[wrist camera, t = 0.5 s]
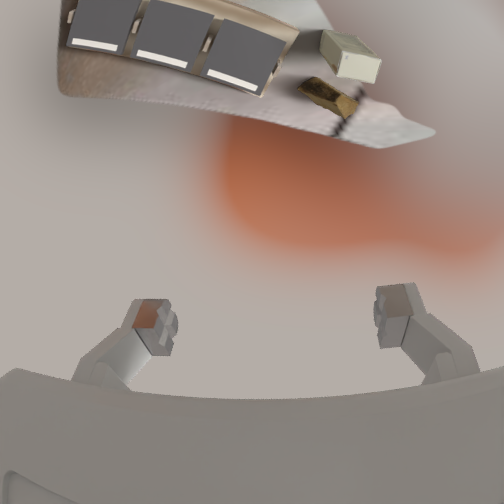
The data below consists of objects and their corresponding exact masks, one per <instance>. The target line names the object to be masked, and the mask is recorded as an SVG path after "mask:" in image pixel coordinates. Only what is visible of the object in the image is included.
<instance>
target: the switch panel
mask: <svg viewBox="0 0 504 504" xmlns="http://www.w3.org/2000/svg"><path fill="white" fill-rule="evenodd" d="M160 1H164V2H169V3H173V4H177V5H181V6H185V7H189V8H192V9H196V10H199V11H203V12H206V13H209V14H213V15H215V16H214V18H213V21H212V23H211V25H210V27H209V30H208V32H207V34H206V36H205V39H204V41H203V43H202V46H201V48H200V51H199V53H198V55H197V58H196V60H195V63H194V65H193V68H192V70H191V73H190V74H193V75H197V76H200V73H201V71H202V68H203V66H204V63H205V61H206V59H207V56H208V54H209V51H210V49H211V47H212V45H213V42H214V40H215V38H216V35H217V33H218V31H219V29H220V27H221V24H222V22H223V20H224V18H225V19H228V20H231V21H234V22H237V23H240V24H243V25H245V26H248V27H251V28H253V29H256V30H259V31H261V32H264V33H266V34H269V35H271V36H273V37H276V38H278V39H281V40H283V41H285V42H287V43H286V45H285V47H284V49H283V51H282V53H281V55H280V57H279V59H278V61H277V62H276V64H275V66H274V68H273V70H272V72H271V74H270V77H269V79H268V81H267V83H266V85H265V87H264V89H263V91H262V93H261V95H260V96H258V95H255V94H253V95H255V96H258V97H261V98H262V97H263V95H264V93H265V91H266V89H267V88H268V86H269V84H270V82H271V80H272V79H273V77H276V76H277V75H278V73H279V71H280V69H281V68H282V66H281V63H282V61H283V59H284V58H285V56H286V54H287V53H288V51H289V49H290V47H291V46H292V44H293V42H294V41H295V39H296V37H297V36H298V34H299V30H298V29H297V28H296V27H294V26H292V25H289V24H287V23H285V22H283V21H280V20H278V19H275V18H273V17H271V16H268V15H266V14H263V13H261V12H258V11H255V10H253V9H250V8H247V7H245V6H242V5H239V4H236V3H233V2H230V1H227V0H160ZM78 2H79V0H78ZM149 2H150V0H142V2H141V4H140V7H139V9H138V12H137V15H136V17H135V20H134V23H133V26H132V29H131V31H130V34H129V37H128V40H127V43H126V46H125V50H124V53H123V54H122V55H118V56H123V57H128V58H131V57H130V55H131V52H132V49H133V45H134V43H135V40H136V37H137V34H138V31H139V28H140V25H141V23H142V20H143V17H144V15H145V12H146V9H147V7H148V4H149ZM77 5H78V4H77ZM75 11H76V9H74V10H72V11H70V12H69V16H68V22H67V23H71V22H72V21H73V18H74V15H75ZM69 47H70V46H69ZM72 48H77V47H72ZM79 49H84V48H79ZM85 50H90V49H85ZM91 51H96V50H91ZM97 52H102V51H97ZM103 53H107V52H103ZM108 54H112V53H108ZM113 55H117V54H113ZM132 59H136V58H132ZM137 60H140V59H137ZM141 61H144V60H141ZM145 62H149V61H145ZM149 63H153V62H149ZM153 64H157V63H153ZM157 65H161V64H157ZM161 66H164V65H161ZM165 67H168V66H165ZM169 68H172V67H169ZM173 69H175V68H173ZM176 70H179V69H176ZM180 71H183V70H180ZM183 72H186V71H183ZM187 73H189V72H187ZM200 77H203V76H200ZM203 78H206V77H203ZM206 79H209V78H206ZM210 80H212V79H210ZM213 81H215V80H213ZM216 82H218V81H216ZM219 83H221V82H219ZM222 84H224V83H222ZM225 85H227V84H225ZM228 86H230V85H228ZM231 87H233V86H231ZM233 88H236V87H233ZM236 89H239V88H236ZM239 90H241V89H239ZM242 91H244V90H242ZM245 92H247V91H245ZM247 93H250V92H247ZM250 94H252V93H250Z"/></svg>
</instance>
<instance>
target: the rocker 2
mask: <svg viewBox="0 0 504 504" xmlns="http://www.w3.org/2000/svg"><path fill="white" fill-rule="evenodd" d="M286 43H287V42H285V41H283V40H281V39H278V38H276V37H273V36H271V35H269V34H266V33H264V32H261V31H259V30H256V29H253V28H251V27H248V26H245V25H243V24H240V23H237V22H234V21H231V20H228V19H225V18H224V20H223V22H222V24H221V27H220V29H219V31H218V33H217V35H216V38H215V40H214V42H213V45H212V47H211V49H210V51H209V54H208V56H207V59H206V61H205V63H204V66H203V68H202V71H201V73H200V76H203V77H206V78H209V79H212V80H215V81H218V82H221V83H224V84H227V85H230V86H233V87H236V88H239V89H241V90H244V91H247V92H250V93H252V94H255V95H258V96H260V95H261V93H262V91H263V89H264V87H265V85H266V83H267V81H268V79H269V77H270V74H271V72H272V70H273V68H274V66H275V64H276V62H277V61H278V59H279V57H280V55H281V53H282V51H283V49H284V47H285V45H286Z"/></svg>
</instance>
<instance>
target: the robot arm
mask: <svg viewBox="0 0 504 504" xmlns="http://www.w3.org/2000/svg"><path fill="white" fill-rule="evenodd" d="M376 297H377V300H376V301H375V302H374V321H375V326H376V327H378V328H379V329H378V334H377V336H378V340H379V345H380V349H381V348H392V347H401V348H402V350H403V351H404V352H405V353H406V354H407V355H408V356H409V357H410V358H411V359H412V361H413V362H414V363H415V364H416V365H417V366H418V367H419V368H420V370H421V371H422V372H423V373H424V374H425V375H426V376H425V378H424V380H423V382H422V384H421V385H420V386H414V387H408V388H402V389H395V390H388V391H380V392H372V393H364V394H354V395H344V396H333V397H319V398H318V397H317V398H298V399H217V398H197V397H183V396H171V395H161V394H151V393H143V392H135V391H131V390H130V389H129V388H128V387H127V386H126V385H127V384H128V383H129V382H130V381H131V380H132V379H133V378H134V376H135V375H136V374H137V373H138V372H139V371H140V370H141V369H142V368H143V366H144V365H145V364H146V363H147V362H148V361H149V360H150V358H151V357H152V356H170V354H171V351H172V348H173V344H174V343H173V341H172V338H173V337H174V336H175V335H176V333H177V330H178V320H177V316H176V314H175V312H173V311H172V310H170V308H171V303H170V302H169V300H167V299H135V300H133V302H132V303H131V306H130V308H129V310H128V312H127V314H126V317H125V319H124V321H123V323H122V326H121V328H117V329H116V330H115V331H113V332H112V333H111V334H110V335H109V336H107V337H106V338H105V339H104V340H103V341H101V342H100V343H99V344H98V345H97V346H96V347H94V348H93V349H92V350H91V351H89V352H88V353H87V354H86V355H85V356H83V357H82V358H81V359H80V361H79V364H78V366H77V368H76V371H75V373H74V375H73V377H72V380H71V381H69V380H64V379H60V378H55V377H51V376H46V375H42V374H39V373H35V372H30V371H27V370H23V369H19V368H16V369H13V370H11V371H9V372H8V373H6V374H5V375H4V376H3V377H1V378H0V504H504V366H502V367H499V368H495V369H491V370H488V371H484V372H480V369H479V366H478V363H477V360H476V357H475V354H474V352H473V349H472V346H470V345H469V344H468V343H467V342H466V341H464V340H463V339H462V338H461V337H459V336H458V335H457V334H456V333H455V332H453V331H452V330H451V329H450V328H448V327H447V326H446V325H445V324H443V323H442V322H441V321H440V320H438V319H437V318H436V317H435V316H433V315H432V314H427V312H426V309H425V306H424V304H423V301H422V299H421V296H420V293H419V291H418V288H417V286H416V284H415V283H414V282H413V283H404V284H396V285H387V286H378V287H377V289H376Z"/></svg>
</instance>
